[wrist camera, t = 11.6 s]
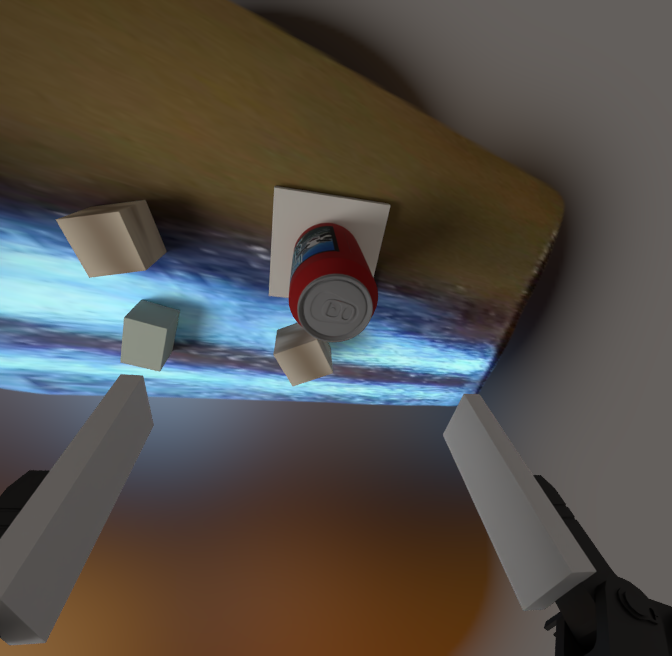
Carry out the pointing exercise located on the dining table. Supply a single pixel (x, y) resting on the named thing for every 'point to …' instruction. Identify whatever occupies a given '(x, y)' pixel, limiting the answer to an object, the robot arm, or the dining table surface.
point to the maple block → (302, 355)
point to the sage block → (149, 335)
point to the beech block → (114, 238)
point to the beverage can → (331, 284)
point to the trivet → (314, 208)
